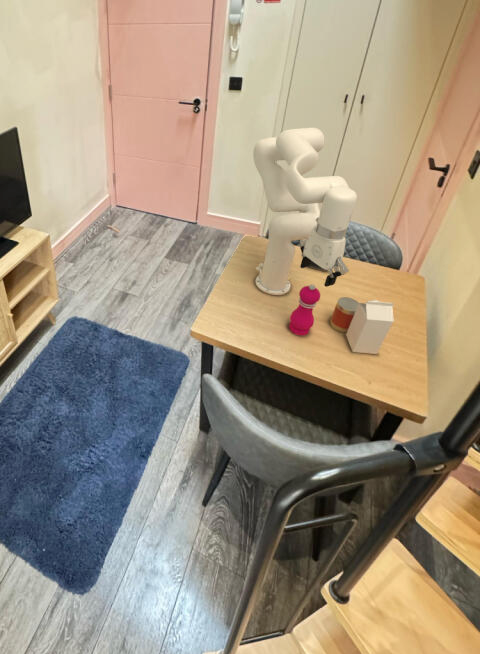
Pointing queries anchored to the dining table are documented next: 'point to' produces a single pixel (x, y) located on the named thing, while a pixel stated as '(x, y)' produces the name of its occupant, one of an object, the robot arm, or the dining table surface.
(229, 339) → the dining table surface
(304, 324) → the pepper mill
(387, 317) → the milk carton
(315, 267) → the phone
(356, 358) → the dining table surface
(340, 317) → the sauce tin
